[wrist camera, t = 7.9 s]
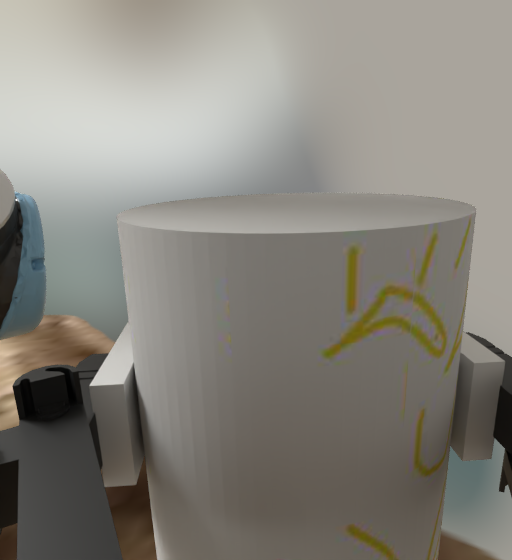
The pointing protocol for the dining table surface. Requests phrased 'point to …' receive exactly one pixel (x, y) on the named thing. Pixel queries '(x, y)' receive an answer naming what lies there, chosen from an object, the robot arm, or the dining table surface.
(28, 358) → the dining table surface
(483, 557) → the dining table surface
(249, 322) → the cup
